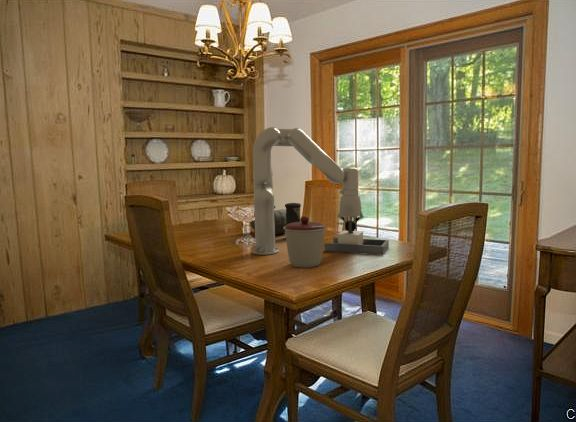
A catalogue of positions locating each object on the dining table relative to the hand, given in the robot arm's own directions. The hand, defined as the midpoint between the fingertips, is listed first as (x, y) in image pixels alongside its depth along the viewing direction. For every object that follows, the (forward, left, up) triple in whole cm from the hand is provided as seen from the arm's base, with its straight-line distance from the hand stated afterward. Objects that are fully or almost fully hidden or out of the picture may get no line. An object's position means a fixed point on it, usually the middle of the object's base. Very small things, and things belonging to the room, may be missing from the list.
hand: (350, 230), depth 218 cm
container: (+20, +38, -10) cm, 44 cm away
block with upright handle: (0, 0, -8) cm, 8 cm away
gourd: (+30, +56, -10) cm, 64 cm away
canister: (-36, +11, -10) cm, 39 cm away
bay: (0, -3, -9) cm, 10 cm away
